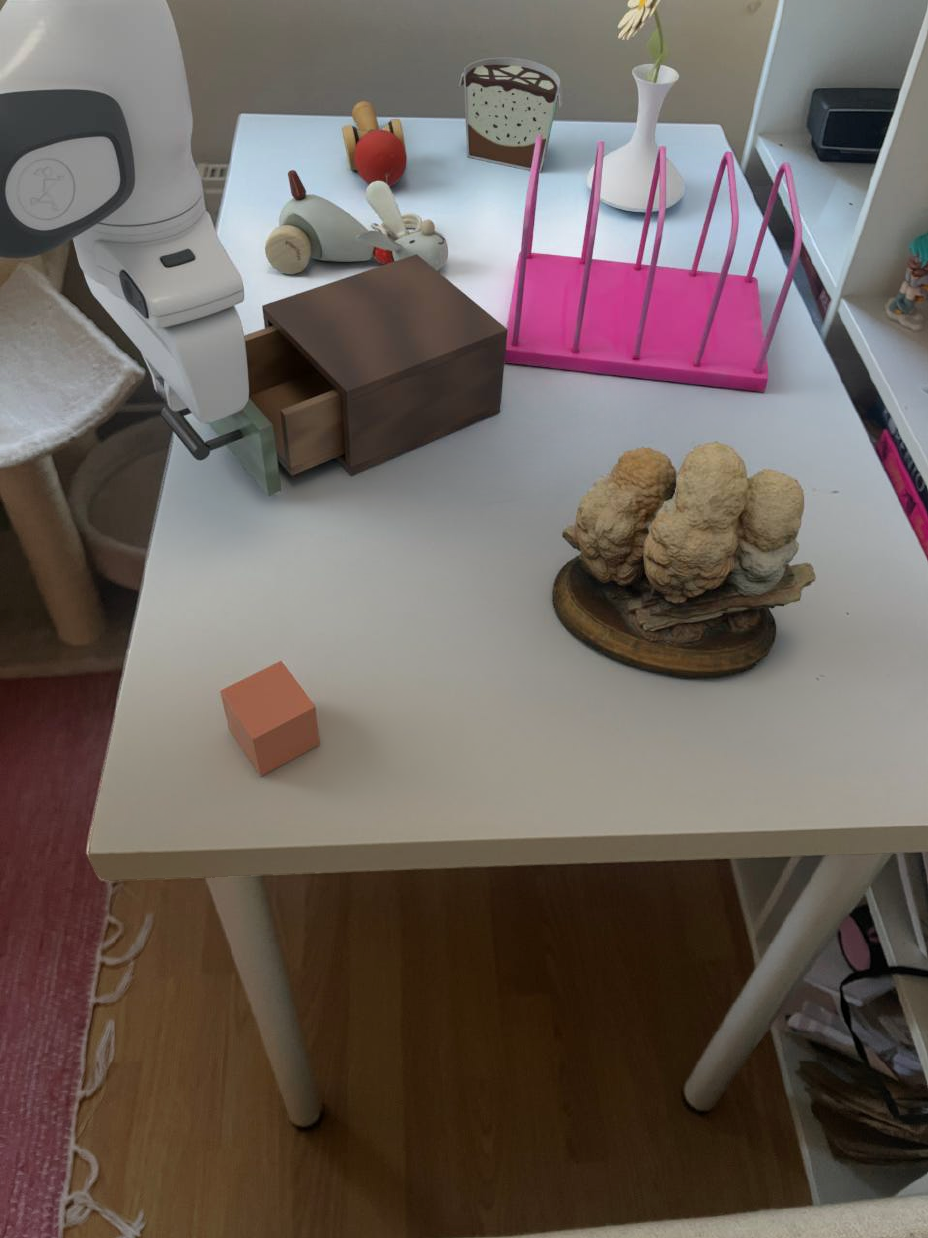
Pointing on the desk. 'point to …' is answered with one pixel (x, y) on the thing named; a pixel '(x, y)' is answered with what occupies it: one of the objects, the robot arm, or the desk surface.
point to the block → (270, 717)
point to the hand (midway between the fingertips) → (174, 399)
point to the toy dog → (349, 232)
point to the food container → (509, 109)
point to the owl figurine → (683, 562)
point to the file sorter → (645, 300)
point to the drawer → (274, 415)
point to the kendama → (375, 146)
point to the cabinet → (397, 356)
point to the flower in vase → (642, 126)
